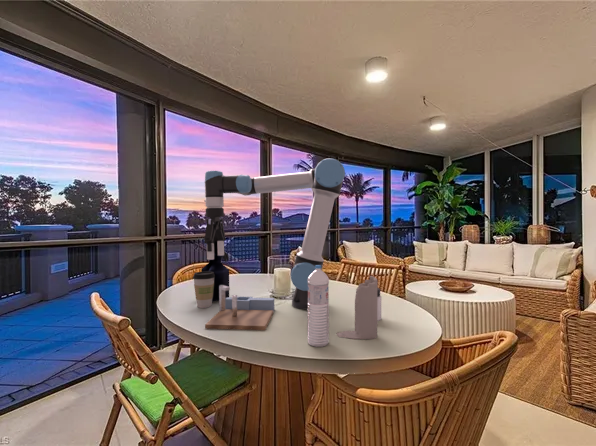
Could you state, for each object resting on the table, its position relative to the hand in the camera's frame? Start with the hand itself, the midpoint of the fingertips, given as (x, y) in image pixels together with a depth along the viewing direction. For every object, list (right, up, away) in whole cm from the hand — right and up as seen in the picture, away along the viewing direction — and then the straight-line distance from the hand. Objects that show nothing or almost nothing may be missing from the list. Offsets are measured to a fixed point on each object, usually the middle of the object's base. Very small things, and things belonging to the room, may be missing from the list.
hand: (216, 257), depth 137 cm
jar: (+63, -23, -10) cm, 68 cm away
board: (+13, -23, -12) cm, 29 cm away
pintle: (+10, -23, -11) cm, 28 cm away
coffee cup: (-7, -23, +8) cm, 26 cm away
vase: (-5, -23, +21) cm, 32 cm away
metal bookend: (+55, -24, -27) cm, 66 cm away
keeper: (+5, -23, -5) cm, 24 cm away
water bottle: (+41, -24, -34) cm, 59 cm away
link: (+14, -23, +2) cm, 27 cm away
